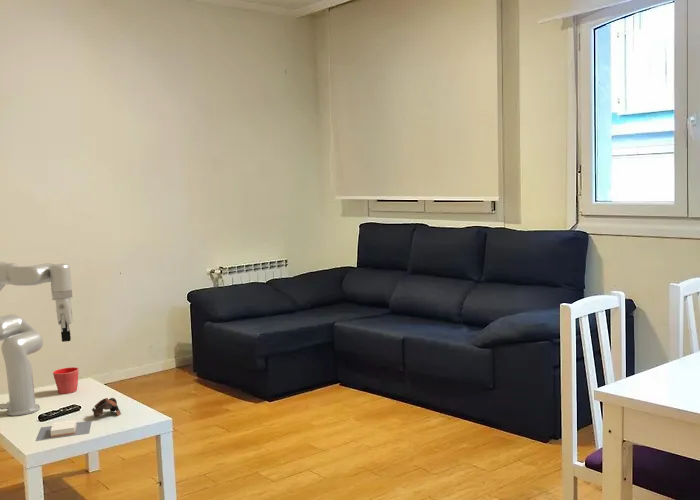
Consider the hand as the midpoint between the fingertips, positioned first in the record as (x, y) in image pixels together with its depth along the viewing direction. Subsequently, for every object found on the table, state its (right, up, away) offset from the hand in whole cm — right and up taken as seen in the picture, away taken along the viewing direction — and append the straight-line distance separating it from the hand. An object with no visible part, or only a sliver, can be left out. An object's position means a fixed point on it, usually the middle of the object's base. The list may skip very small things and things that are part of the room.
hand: (66, 340), depth 293 cm
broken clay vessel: (+18, -29, -5) cm, 35 cm away
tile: (+7, -29, -18) cm, 35 cm away
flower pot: (-13, -27, +36) cm, 47 cm away
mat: (+8, -31, -22) cm, 38 cm away
